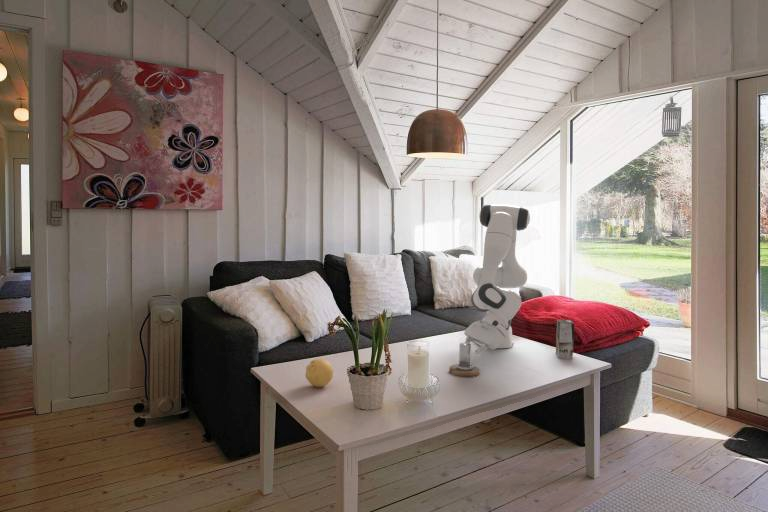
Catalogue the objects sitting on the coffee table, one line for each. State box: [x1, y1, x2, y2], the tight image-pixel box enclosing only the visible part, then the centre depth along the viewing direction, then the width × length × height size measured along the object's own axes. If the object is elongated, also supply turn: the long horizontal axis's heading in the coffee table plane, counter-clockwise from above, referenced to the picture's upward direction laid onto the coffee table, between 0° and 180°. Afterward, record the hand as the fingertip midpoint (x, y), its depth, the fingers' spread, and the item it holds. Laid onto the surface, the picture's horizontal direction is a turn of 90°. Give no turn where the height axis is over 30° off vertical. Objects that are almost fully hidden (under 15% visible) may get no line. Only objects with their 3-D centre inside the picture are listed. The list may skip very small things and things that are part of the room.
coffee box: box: [555, 319, 575, 360], centre depth 230 cm, size 9×6×16 cm
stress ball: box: [305, 358, 334, 388], centre depth 184 cm, size 10×10×10 cm
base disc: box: [448, 364, 480, 378], centre depth 204 cm, size 12×12×2 cm
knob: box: [456, 342, 474, 371], centre depth 203 cm, size 6×6×10 cm
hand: (470, 350), depth 205 cm, fingers open, 8 cm apart
